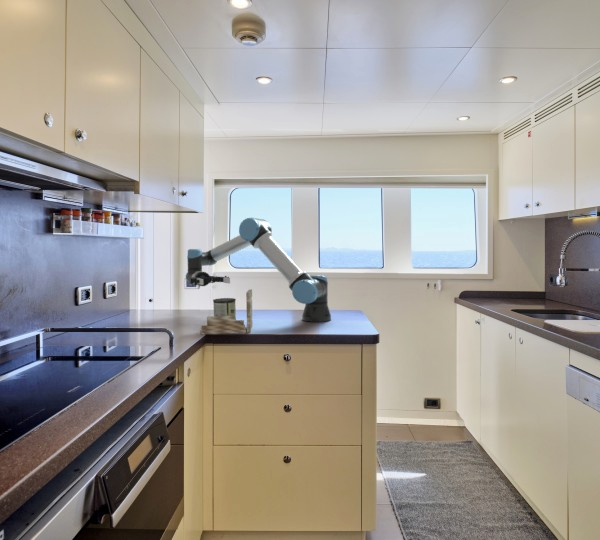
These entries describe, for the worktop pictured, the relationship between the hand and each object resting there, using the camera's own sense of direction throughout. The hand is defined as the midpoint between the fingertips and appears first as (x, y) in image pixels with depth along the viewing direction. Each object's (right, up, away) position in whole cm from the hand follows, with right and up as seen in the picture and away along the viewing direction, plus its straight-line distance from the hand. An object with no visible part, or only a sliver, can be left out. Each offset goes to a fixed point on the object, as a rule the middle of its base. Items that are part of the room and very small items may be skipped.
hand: (216, 281), depth 200 cm
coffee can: (+5, -22, -7) cm, 24 cm away
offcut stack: (+6, -21, -16) cm, 28 cm away
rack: (+7, -22, -9) cm, 25 cm away
